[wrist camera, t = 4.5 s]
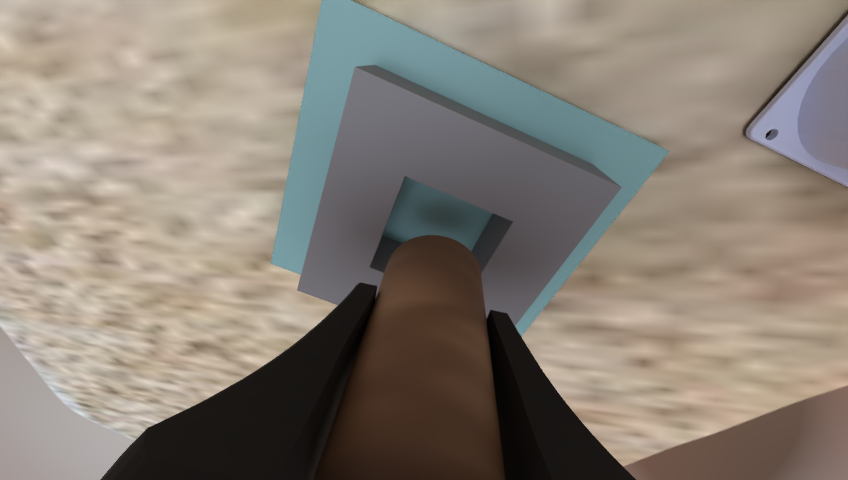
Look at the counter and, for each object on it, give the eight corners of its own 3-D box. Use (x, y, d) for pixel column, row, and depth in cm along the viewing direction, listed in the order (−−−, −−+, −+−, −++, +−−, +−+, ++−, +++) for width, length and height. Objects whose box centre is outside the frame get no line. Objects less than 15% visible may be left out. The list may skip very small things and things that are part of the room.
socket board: (658, 146, 17) (718, 173, 13) (507, 341, 25) (516, 394, 21) (332, -9, 15) (288, -32, 11) (278, 255, 23) (241, 296, 19)
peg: (491, 244, 13) (535, 466, 6) (469, 320, 15) (481, 555, 8) (391, 226, 13) (312, 426, 6) (382, 305, 15) (314, 525, 8)
